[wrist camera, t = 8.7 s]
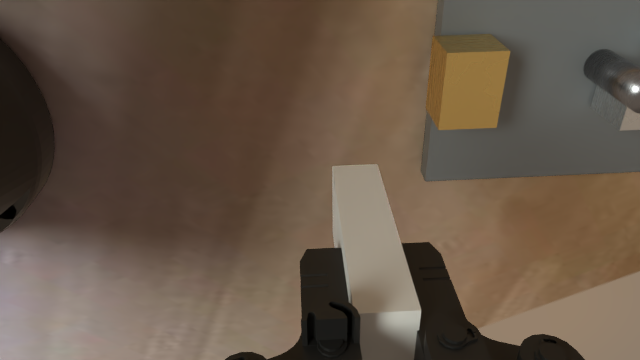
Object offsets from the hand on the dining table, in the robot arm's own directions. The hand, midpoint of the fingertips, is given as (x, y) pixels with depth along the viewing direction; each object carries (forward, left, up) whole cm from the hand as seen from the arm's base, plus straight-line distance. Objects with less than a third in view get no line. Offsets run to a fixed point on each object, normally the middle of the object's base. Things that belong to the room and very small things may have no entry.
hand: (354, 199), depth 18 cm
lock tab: (+7, 0, -12) cm, 14 cm away
